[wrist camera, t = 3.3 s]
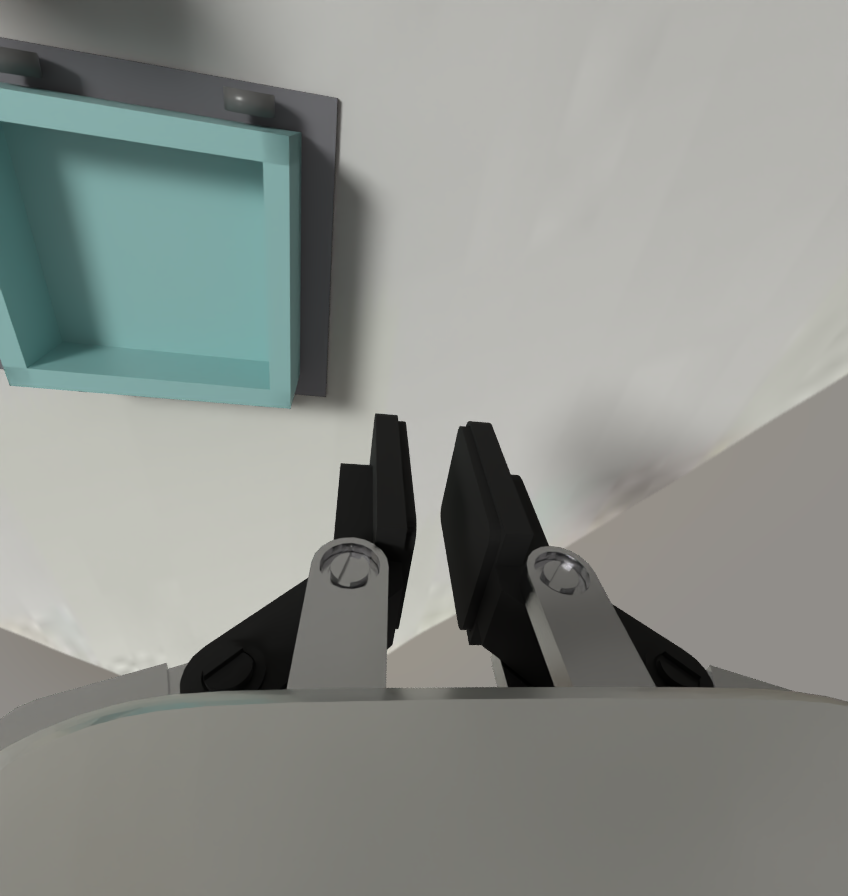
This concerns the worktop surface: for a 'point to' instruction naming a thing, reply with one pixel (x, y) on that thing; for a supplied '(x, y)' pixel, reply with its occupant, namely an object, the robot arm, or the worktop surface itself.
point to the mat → (207, 99)
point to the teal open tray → (147, 247)
